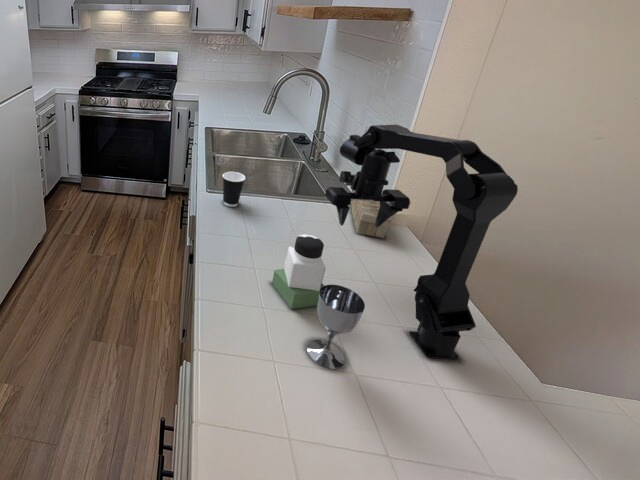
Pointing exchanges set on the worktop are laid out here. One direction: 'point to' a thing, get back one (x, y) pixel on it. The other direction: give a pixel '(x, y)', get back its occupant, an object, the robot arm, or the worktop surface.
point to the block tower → (367, 218)
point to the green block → (293, 292)
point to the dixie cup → (232, 187)
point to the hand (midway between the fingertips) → (358, 225)
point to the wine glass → (335, 322)
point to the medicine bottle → (305, 263)
